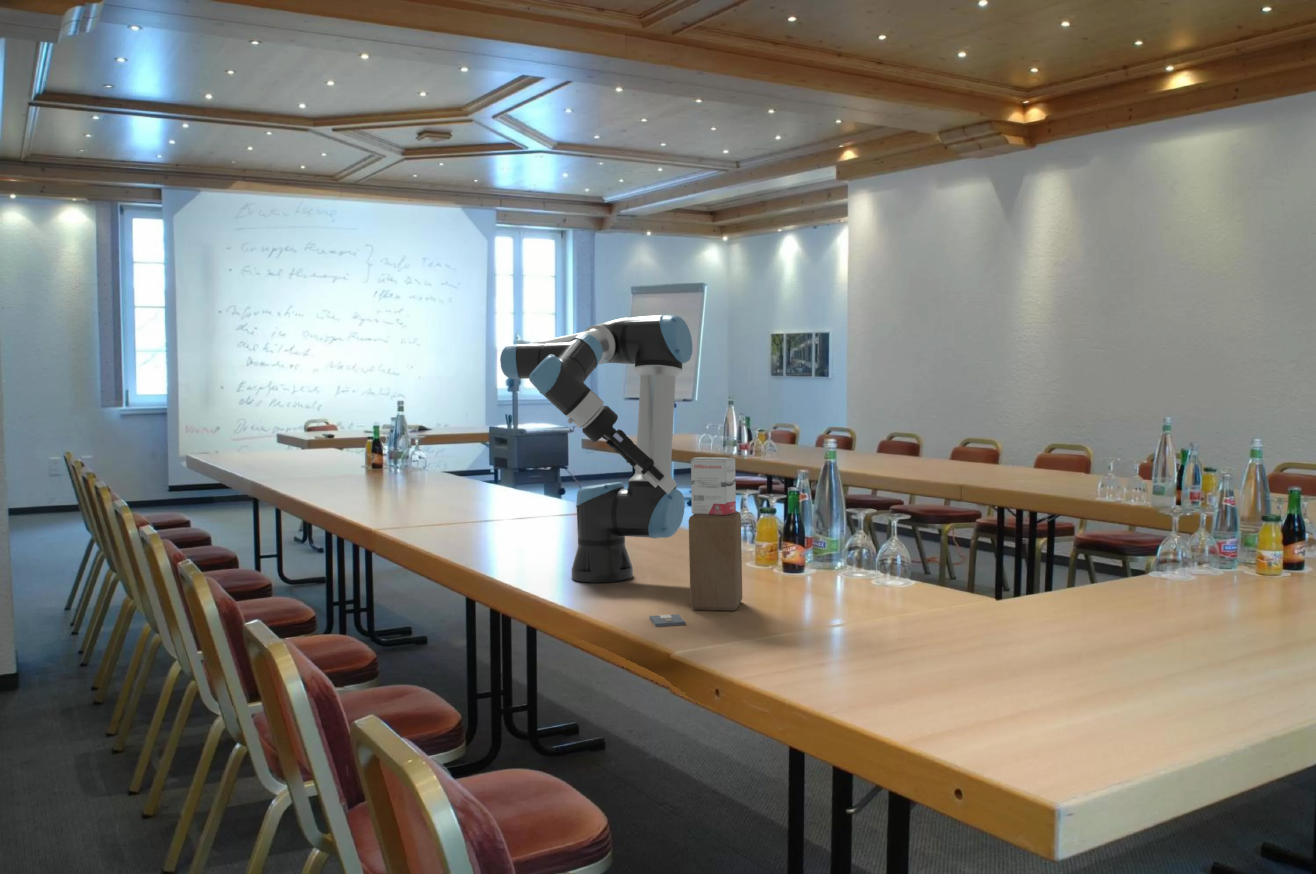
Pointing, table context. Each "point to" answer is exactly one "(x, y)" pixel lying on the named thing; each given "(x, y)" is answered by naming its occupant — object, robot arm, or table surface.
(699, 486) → the ink box
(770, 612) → the table surface
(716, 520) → the block
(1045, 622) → the table surface
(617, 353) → the robot arm
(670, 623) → the card
